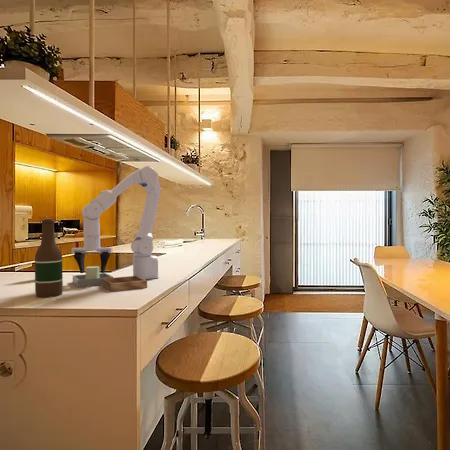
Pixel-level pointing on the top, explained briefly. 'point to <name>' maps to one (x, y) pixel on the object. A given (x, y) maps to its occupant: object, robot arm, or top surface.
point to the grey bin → (89, 280)
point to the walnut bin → (124, 283)
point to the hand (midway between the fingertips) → (92, 272)
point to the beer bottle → (48, 263)
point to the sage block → (92, 272)
